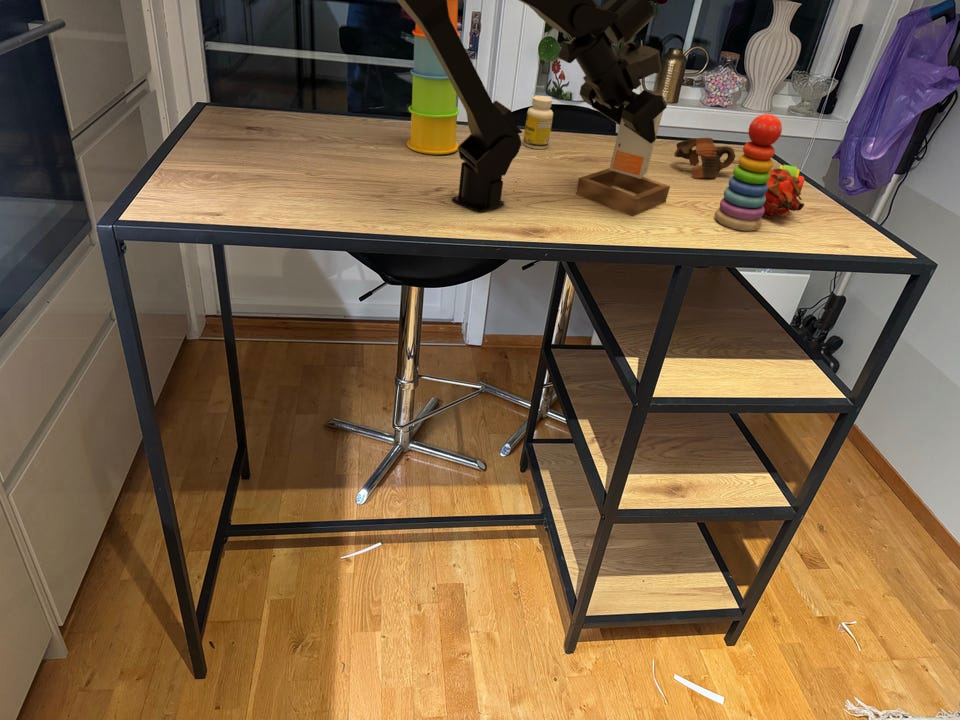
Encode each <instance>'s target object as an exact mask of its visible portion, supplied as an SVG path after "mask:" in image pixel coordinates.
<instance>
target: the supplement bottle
mask: <svg viewBox="0 0 960 720" xmlns="http://www.w3.org/2000/svg"><path fill="white" fill-rule="evenodd" d="M552 102H553V99H552V98H550V97H547V96H543V95H535V96H533V97H532V101H531V105H532V106H531V107H529V108H528V110H527V112H526V120H525V126H524V132H523V133H524V134H523V139H522V140H523V142H522V143H523V145H524V146H525V147H526V146H527V148H528V149H532V148H533V150H544V149H545V150H546V149H547V148H548V147H549V143H550V136H551V131H552V126H553V119H554V118H553V117H554V112H553V110H552V109H550V108H551V107H552V105H553V104H552Z"/></svg>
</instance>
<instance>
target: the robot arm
mask: <svg viewBox="0 0 960 720" xmlns="http://www.w3.org/2000/svg"><path fill="white" fill-rule="evenodd" d="M396 1H397V3H399V5H400V7H401V8H402V9H403V10H404V11H405V12H406V14H407V15H408V16H409V17H410V18H411V19H412V20H413V21H414V23H415V25H416V24H417V25H418V26H419V27H420V28H421V29H422V31H423V32H424V34H425V36H426V38H427V40H428V42H429V44H430V45H431V47H432V49H433V51H434V53H435V55H436V56H437V58H438V60H439V62H440V64H441V66H442V67H443V69H444V71H445V73H446V75H447V77H448V78H449V80H450V82H451V84H452V86H453V88H454V89H455V91H456V96H457V97H458V98H459V101H460V102H461V104H462V105H463V107H464V110H465V112H466V118H467V126H468V129H469V131H470V134H469V135H468V136H467V137H466V139H464V140H463V141H462V142H460V144H458V145H459V146H458V150H457V151H458V152H457V153H458V155H459V158H460V160H461V161H463V162H461V168H460V176H459V185H458V186H459V187H458V188H459V189H458V195H455V196H452V197H451V201H452V202H454V203H457V204H459V205H461V206H462V207H463V206H464V207H465V208H468V209H470V210H473V211H474V212H478V213H483V212H487V211H490V210H493V209H496V208H498V207H502V206H504V205H505V201H504V200H502V193H503V185H504V180H502V177H503V176H506V174H507V173H508V170H509V168H510V166H511V164H512V162H513V161H514V159H515V158H516V157H517V155H518V153H519V152H520V149H521V147H522V140H521V136H520V134H522V133H523V131H522V130H521V129H520V128H519V127H518V126H517V124H516V122H515V121H516V120H515V117H514V113H513V112H512V110H511V109H509V108H508V107H506V105H504V104H502V103H500V101H498V100H494V101H492V99H491V97H490V96H489V93H488V91H487V89H486V88H485V85H484V83H483V81H482V79H481V77H480V76H479V74H478V71H477V69H476V68H475V66H474V64H473V62H472V60H471V58H470V56H469V54H468V52H467V50H466V48H465V46H464V44H463V42H462V39H461V38H460V37H459V36H458V34H457V32H458V31H457V32H456V30H455V28H454V26H453V24H452V22H451V20H450V17H449V10H448V3H447V0H396ZM518 1H519V2H521V3H522V4H524V5H527V6H528V7H529V9H531V10H533V11H534V12H535V13H536V15H537V16H538V17H539V18H541V20H543V21H544V22H545V23H546V24H547V25H549V26H550V28H551V27H552V29H554V30H555V31H558V32H561V33H563V34H564V35H565V34H566V35H568V36H569V37H572V39H570V40H569V41H565V40H564V41H561V47H560V50H559V52H558V56H557V58H558V59H559V60H561V61H563V62H565V63H567V64H572V63H573V62H574V61H575V60H576V62H577V63H578V66H579V67H580V68H581V70H582V72H583V73H584V75H585V76H583V77H582V78H583V80H584V83H583V84H582V85H581V86H580V90H579V95H580V97H581V98H582V100H583V102H584V103H585V104H588V105H589V106H591V108H592V109H594V110H596V111H597V112H599V113H600V114H602V115H603V116H605V117H606V118H609V119H610V120H611V121H613V122H614V123H616V124H617V125H619V126H620V123H621V119H622V120H623V121H624V123H625V124H624V126H625V127H627V128H628V129H630V130H631V131H633V132H634V133H636V134H637V135H639V136H640V137H642V138H643V139H645V140H646V141H648V142H649V143H653V142H654V141H655V142H656V139H657V136H655V128H654V118H656V117H657V116H658V115H659V114H660V113H661V112H662V111H663V112H664V110H666V109H667V106H668V104H667V101H666V100H665V98H664V96H663V95H662V94H660V93H658V92H657V91H653V90H651V89H643V90H642V91H641V92H639V94H638V93H637V92H635V91H634V89H635V90H636V89H638V88H639V87H640V86H641V85H642V83H641V82H642V81H641V80H643V79H644V78H647V77H650V76H652V75H654V74H659V73H661V71H662V65H661V64H662V63H661V56H660V50H658V49H656V48H653V47H651V46H647V45H645V46H644V45H639V46H638V45H637V43H635V42H633V41H630V40H631V39H632V38H634V37H635V36H636V34H638V33H639V32H640V31H641V30H642V29H643V28H644V27H645V26H646V25H647V24H648V23H649V22H650V21H652V20H653V19H654V18H655V11H654V10H655V9H654V8H653V7H654V6H653V4H652V2H651V1H648V0H608V1H606V3H604V4H603V6H602V5H599V4H597V3H596V1H595V0H518ZM611 42H612V43H614V44H617V43H619V42H620V43H621V44H622V46H621V50H620V56H619V55H618V54H617V53H618V52H617V51H616V50H615V48H614V46H613V44H612V43H611ZM624 106H626V107H625V108H624Z"/></svg>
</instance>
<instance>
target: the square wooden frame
mask: <svg viewBox="0 0 960 720" xmlns="http://www.w3.org/2000/svg"><path fill="white" fill-rule="evenodd" d="M609 168H610V167H608V168H606V169H602V170H599V171H597V172H593V173H589V174H587V175H583V176H581V177H578V181H577V186H576V191H575V195H577V196H579V197H582V198H585V199H587V200H590V201H593V202H595V203H597V204H600V205H603V206H606V207H608V208H611V209H614V210H616V211H618V212H621V213H624V214H626V215H629V216H632V217H634V216H636V215H638V214H641V213H643V212H646V211H648V210H650V209H653V208H655V207H657V206H660V205H662V204H664V203H666V202H667V198H668V196H669V191H670V188H671V185H668V184H665V183H662V182H660V181H657V180H653V179H652V178H648V177H645V176H643V177H642V178H641V179H639V178H636V177H632V176H629V175H625V174H622V173H618V172H615V171H610V170H609ZM612 186H613V187H612ZM615 187H617V188H615ZM618 188H620V189H622V190H619V189H618ZM623 190H624V191H623ZM625 190H626V191H628V192H630V193H633V194H630V193H628V192H625ZM634 194H635V195H634Z"/></svg>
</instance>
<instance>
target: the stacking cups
mask: <svg viewBox="0 0 960 720" xmlns="http://www.w3.org/2000/svg"><path fill="white" fill-rule="evenodd" d="M447 3H448V10H449V17H450V20H451V22H452V24H453V26H454V28H455V30H456V32H457V34H458V36H459V38H460V37H461V35H460V33H459V32H458V15H459V14H458V11H459V0H447ZM412 34H413V36H414V44H413V68H412V69H410V74H411V75H412V92H411V95H412V96H411V98H412V99H411V100H412V101H411V105H409V106H408V111H409V113H411V117H410V139H408V140H407V141H406V145H407V147H408V148H409V149H411V151H414V152H417V153H421V154H426V155H447V154H449V155H450V154H452V153H455V152H457V151H458V146H459V145H460V144H458V142H457V141H456V139H457V136H456V135H457V116H458V115H459V114H460V110H459V108H458V107H457V93H456V91H455V89H454V88H453V86H452V84H451V82H450V80H449V78H448V77H447V75H446V73H445V71H444V69H443V67H442V66H441V64H440V62H439V60H438V58H437V56H436V55H435V53H434V51H433V49H432V47H431V45H430V44H429V42H428V40H427V38H426V36H425V34H424V32H423V31H422V29H421V28H420V27H419V26H418V25H417V24H416V23H415V29H413V30H412Z"/></svg>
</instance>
